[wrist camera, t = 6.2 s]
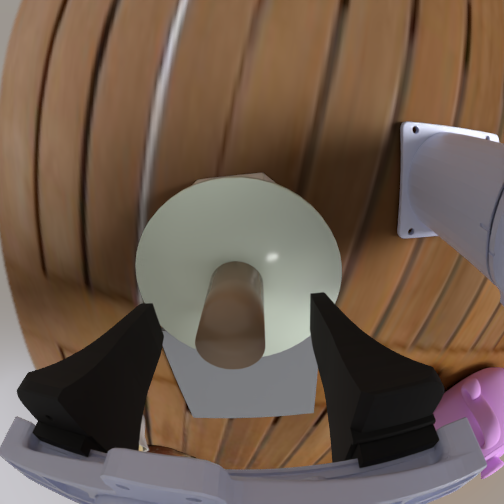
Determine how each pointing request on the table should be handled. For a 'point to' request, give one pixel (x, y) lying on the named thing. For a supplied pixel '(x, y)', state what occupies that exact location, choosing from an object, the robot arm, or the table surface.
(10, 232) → the table surface
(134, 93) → the table surface
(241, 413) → the mat
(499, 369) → the teapot
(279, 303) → the lid
